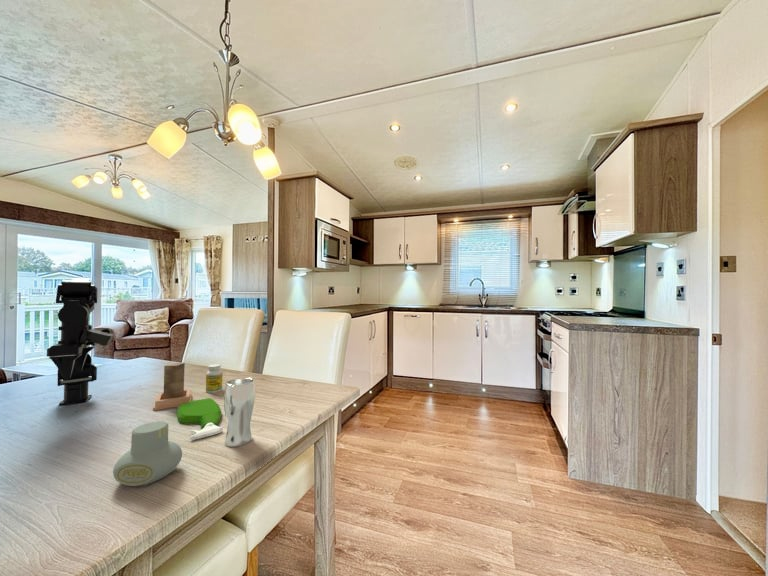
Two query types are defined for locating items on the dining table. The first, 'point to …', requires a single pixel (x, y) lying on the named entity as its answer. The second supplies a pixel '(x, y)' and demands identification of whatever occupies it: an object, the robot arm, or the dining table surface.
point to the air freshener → (148, 456)
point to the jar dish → (171, 401)
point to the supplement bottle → (214, 379)
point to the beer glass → (238, 410)
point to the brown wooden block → (174, 380)
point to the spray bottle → (201, 416)
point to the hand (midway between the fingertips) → (73, 374)
